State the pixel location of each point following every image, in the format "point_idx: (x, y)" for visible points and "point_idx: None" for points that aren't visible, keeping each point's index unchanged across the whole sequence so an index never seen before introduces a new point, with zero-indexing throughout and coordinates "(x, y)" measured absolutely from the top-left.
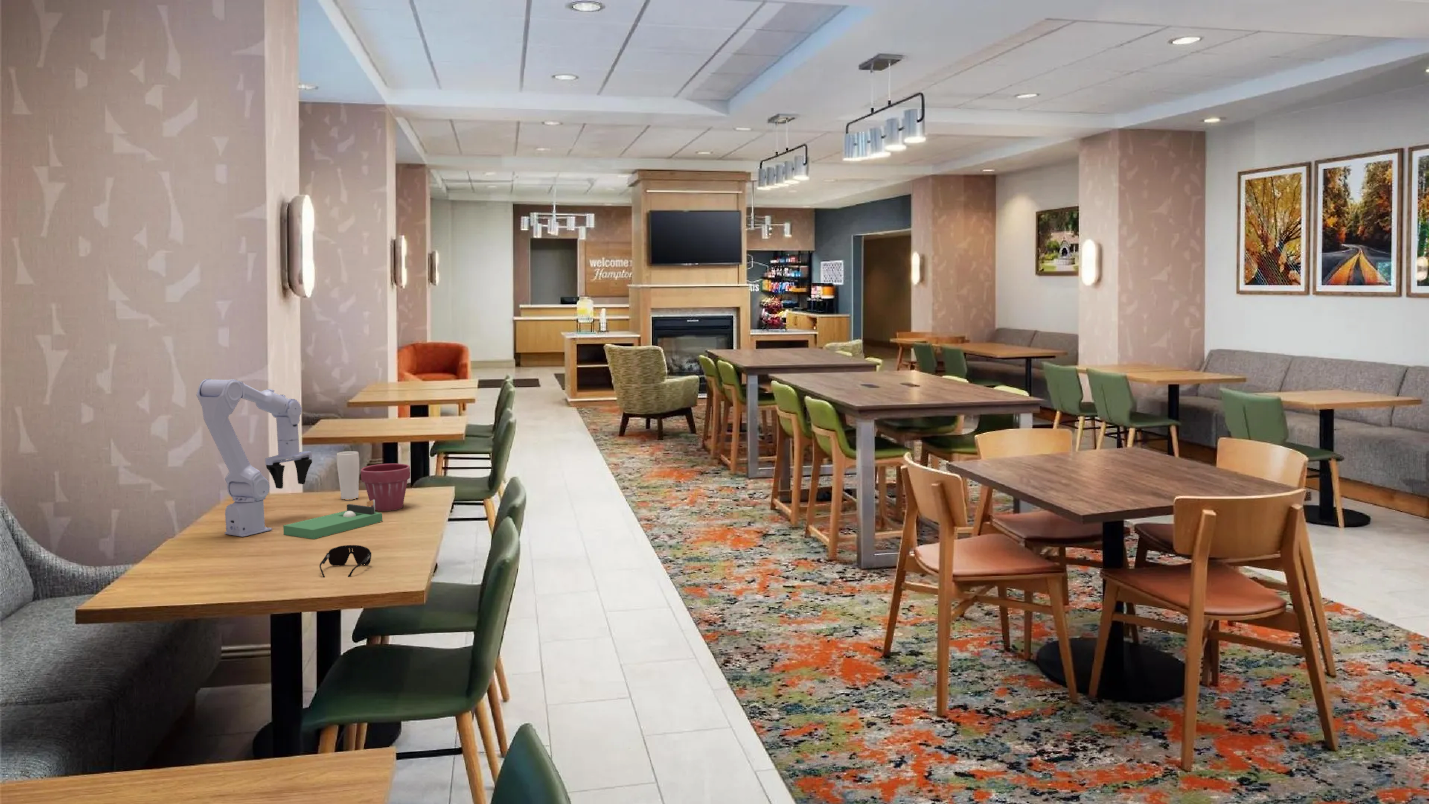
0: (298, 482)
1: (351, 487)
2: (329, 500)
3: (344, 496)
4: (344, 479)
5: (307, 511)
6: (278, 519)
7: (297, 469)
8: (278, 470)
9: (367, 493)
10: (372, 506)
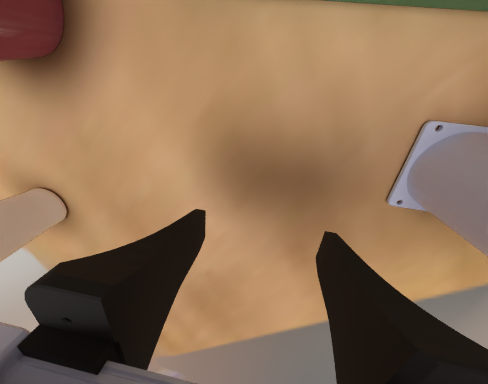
0: (203, 239)
1: (16, 205)
2: (88, 234)
3: (56, 208)
4: (3, 231)
5: (181, 205)
6: (277, 209)
7: (170, 299)
8: (456, 332)
9: (5, 30)
10: (52, 14)
